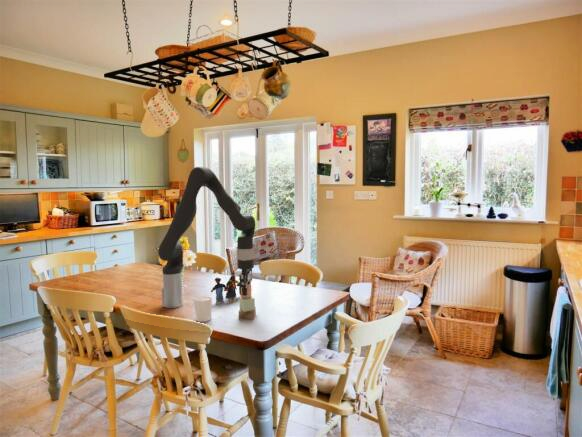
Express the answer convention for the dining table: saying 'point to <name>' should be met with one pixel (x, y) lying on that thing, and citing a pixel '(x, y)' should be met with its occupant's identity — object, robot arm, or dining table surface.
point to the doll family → (226, 289)
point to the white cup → (203, 308)
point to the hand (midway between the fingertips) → (246, 293)
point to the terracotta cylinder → (247, 292)
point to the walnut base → (247, 314)
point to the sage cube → (247, 304)
